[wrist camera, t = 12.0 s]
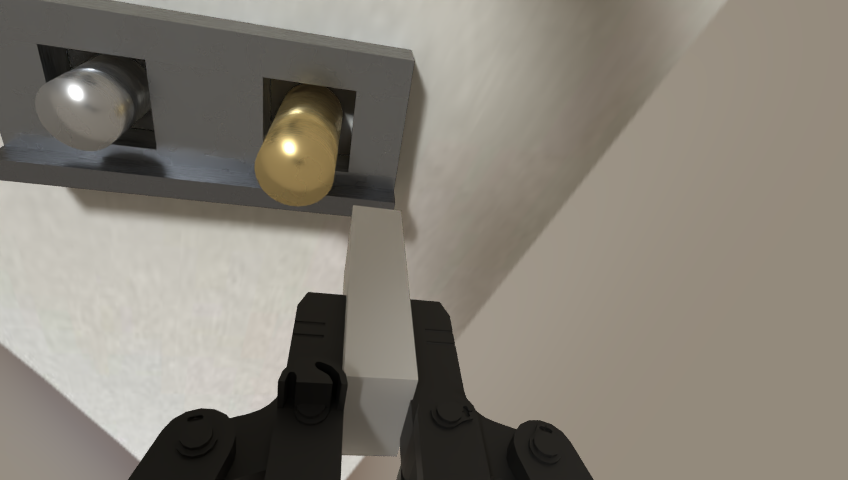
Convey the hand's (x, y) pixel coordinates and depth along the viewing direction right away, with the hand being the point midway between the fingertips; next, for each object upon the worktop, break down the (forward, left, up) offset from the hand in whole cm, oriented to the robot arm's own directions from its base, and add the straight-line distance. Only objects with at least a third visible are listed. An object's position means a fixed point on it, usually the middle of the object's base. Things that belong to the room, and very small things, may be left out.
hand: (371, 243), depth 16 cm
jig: (+4, -10, -23) cm, 25 cm away
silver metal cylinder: (+4, -17, -23) cm, 28 cm away
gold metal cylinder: (+4, -4, -23) cm, 23 cm away
